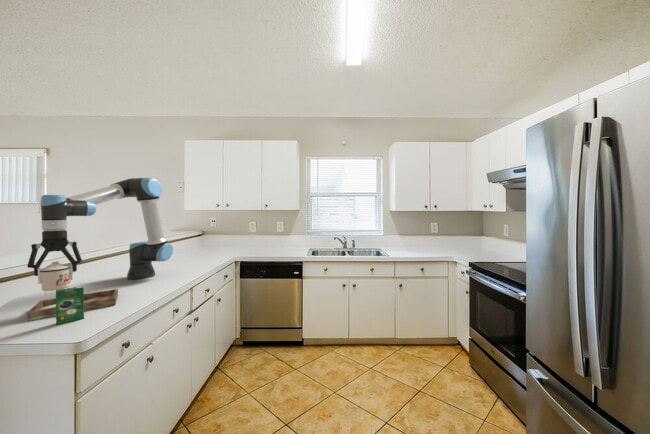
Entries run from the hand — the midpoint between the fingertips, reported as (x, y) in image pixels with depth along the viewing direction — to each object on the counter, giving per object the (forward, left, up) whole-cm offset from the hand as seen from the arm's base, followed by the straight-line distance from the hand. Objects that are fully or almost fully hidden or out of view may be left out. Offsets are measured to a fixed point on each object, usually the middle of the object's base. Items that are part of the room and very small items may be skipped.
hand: (56, 281), depth 112 cm
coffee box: (-7, +19, -13) cm, 24 cm away
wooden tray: (-7, 0, -13) cm, 15 cm away
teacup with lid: (-1, 0, -3) cm, 3 cm away
